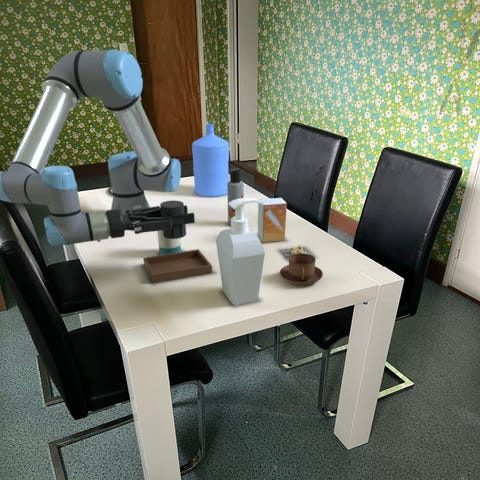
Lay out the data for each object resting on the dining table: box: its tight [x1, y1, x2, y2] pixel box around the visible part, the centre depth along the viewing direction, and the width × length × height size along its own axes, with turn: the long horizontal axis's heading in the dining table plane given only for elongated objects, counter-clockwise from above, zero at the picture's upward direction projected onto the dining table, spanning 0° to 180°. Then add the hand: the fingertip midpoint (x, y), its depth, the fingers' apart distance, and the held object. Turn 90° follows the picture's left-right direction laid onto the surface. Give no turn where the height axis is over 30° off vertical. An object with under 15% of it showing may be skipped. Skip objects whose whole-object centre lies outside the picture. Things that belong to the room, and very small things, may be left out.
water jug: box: [191, 123, 230, 198], centre depth 198 cm, size 16×16×28 cm
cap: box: [159, 200, 187, 239], centre depth 130 cm, size 6×6×9 cm
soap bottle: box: [215, 197, 266, 306], centre depth 117 cm, size 12×10×26 cm
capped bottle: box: [156, 231, 182, 255], centre depth 144 cm, size 7×7×15 cm
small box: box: [257, 197, 288, 243], centre depth 155 cm, size 8×6×13 cm
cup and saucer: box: [279, 253, 324, 285], centre depth 130 cm, size 12×12×6 cm
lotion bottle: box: [226, 167, 244, 227], centre depth 165 cm, size 6×6×20 cm
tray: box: [142, 248, 213, 284], centre depth 137 cm, size 13×17×2 cm
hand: (190, 214), depth 131 cm, fingers closed on cap, 6 cm apart
